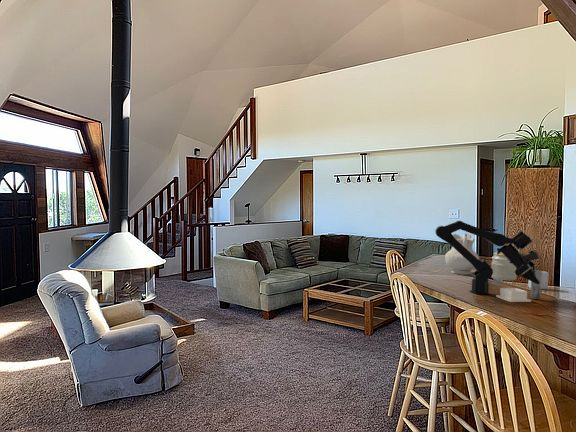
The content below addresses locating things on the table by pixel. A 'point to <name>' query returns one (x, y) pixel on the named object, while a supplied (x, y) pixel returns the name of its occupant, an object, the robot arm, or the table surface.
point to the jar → (502, 268)
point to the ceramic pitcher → (457, 260)
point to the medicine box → (544, 280)
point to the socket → (513, 295)
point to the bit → (536, 285)
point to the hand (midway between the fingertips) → (539, 283)
